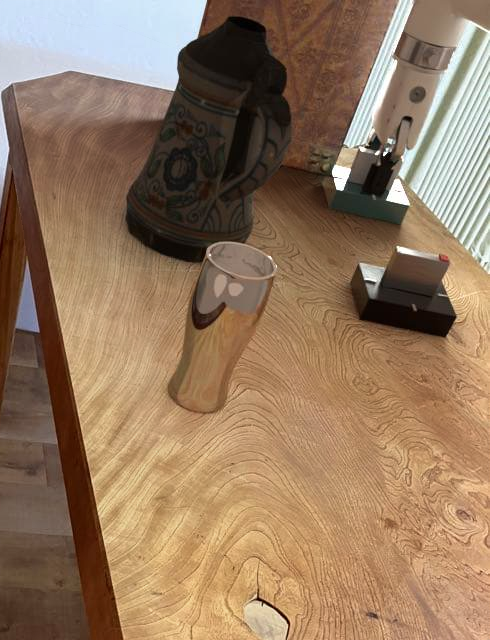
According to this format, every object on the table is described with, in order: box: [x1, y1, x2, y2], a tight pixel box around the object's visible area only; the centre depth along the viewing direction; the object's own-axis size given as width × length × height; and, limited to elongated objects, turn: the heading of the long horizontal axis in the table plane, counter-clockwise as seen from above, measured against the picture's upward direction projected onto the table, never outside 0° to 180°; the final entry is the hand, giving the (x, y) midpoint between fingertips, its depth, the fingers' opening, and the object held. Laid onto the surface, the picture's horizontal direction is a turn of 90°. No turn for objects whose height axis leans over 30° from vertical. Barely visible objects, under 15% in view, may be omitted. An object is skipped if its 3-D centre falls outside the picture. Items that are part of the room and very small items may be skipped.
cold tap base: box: [321, 165, 411, 225], centre depth 133 cm, size 11×11×3 cm
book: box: [196, 0, 400, 176], centre depth 131 cm, size 25×9×30 cm, turn 82°
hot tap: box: [381, 245, 451, 297], centre depth 108 cm, size 6×2×5 cm, turn 85°
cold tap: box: [347, 146, 405, 191], centre depth 130 cm, size 6×2×5 cm, turn 86°
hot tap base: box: [349, 262, 458, 339], centre depth 110 cm, size 11×11×3 cm
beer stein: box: [125, 16, 292, 264], centre depth 107 cm, size 16×19×25 cm
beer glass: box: [167, 241, 278, 414], centre depth 85 cm, size 7×7×15 cm
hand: (368, 182), depth 131 cm, fingers open, 5 cm apart
